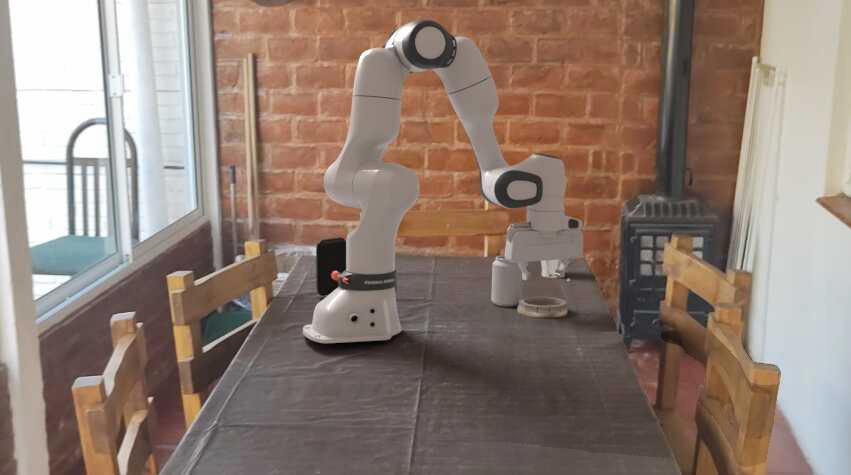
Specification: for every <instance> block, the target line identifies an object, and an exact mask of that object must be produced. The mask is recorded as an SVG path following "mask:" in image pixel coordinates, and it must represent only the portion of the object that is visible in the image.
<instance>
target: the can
mask: <svg viewBox="0 0 851 475" xmlns="http://www.w3.org/2000/svg"><path fill="white" fill-rule="evenodd" d="M491 266H492V268H491V269H492V272H491V295H490V297H491V298H490V299H491V301H492V303H493V304H494V305H496V306H498V307H504V308H506V307H507V308H508V307H509V308H510V307H512V308H513V307H518V305H519V299H522V293H523V292H522V290H523V279H522V271H521V270H520V268H519V266H518V263H513V262H509V261H507V259H506V258H505V255H497V256H496V257H495V260H494V261H493V262H492V265H491Z"/></svg>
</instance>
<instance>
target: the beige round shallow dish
mask: <svg viewBox="0 0 851 475" xmlns="http://www.w3.org/2000/svg"><path fill="white" fill-rule="evenodd" d="M517 312H518V314H520V315H523V316H526V317H533V318H542V319H543V318H544V319H546V318H547V319H549V318H550V319H551V318H559V317H565V316H567V315H568V302H567V301H566V300H564V299H561V298H559V297H552V296H542V295H541V296H527V297H526V296H525V297H521V299H519V304H518V305H517Z"/></svg>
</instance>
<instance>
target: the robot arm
mask: <svg viewBox="0 0 851 475" xmlns="http://www.w3.org/2000/svg"><path fill="white" fill-rule="evenodd" d="M357 62H358V63H357V65H356V66H357V67H356V69H355V75H354V82H353V86H352V98H351V110H350V118H349V119H350V120H349V126H348V127H349V128H348V129H349V130H348V133H347V137H346V140H345V143H344V146H343V148H342V150H341V152H340V153H339V155H338V157H337V158H336V160H334V162H333V163H331V165H329V167H328V168H327V170H326V172H325V173H324V176H323V188H324V191H325V193H326V196H327V197H328V198H329V199H330V200H332V201H333V202H335V203H337V204H339V205H342V206H345V207H348V208H353V209H361V211H360V212H361V213H360V218H359V221H358V224H357V226H356V227H355V228H353V229H352V230H350V232H348V234H347V235H346V236H347V237H346V239H345V241H346V270H345V271H344V272H342V273H340V272H338V271H333V273H332V275H331V276H333V277H332V279H334V280H336V281H338V286H339V287H338V288H336V289H335V290H334V291H333V292H332V293H330V294H329V295H327V296H325V297H324V298H323V299H322V300H321V301H319V302H317V304H316V305H315V308H314V310H313V314H312V315H313V316H312V323H311V324H305V325H304V326H303V327H302V334H303V336H305V337H306V338H307V339H309V340H311V341H313V342H315V343H320V344H336V343H339V344H340V343H355V342H356V343H357V342H373V341H376V342H377V341H387V340H390V339H391V338H392V337H393V336H396V335H398V334H400V333H401V332H402V330H403V329H402V326H401V323H400V318H399V313H398V307H397V299H396V298H397V296H396V293H397V286H398V275H397V273H398V272H397V269H396V267H395V266H396V265H395V263H396V240H397V234H398V229H399V227H400V224H401V222H402V220H403V217H404V216H405V214H407V212H408V211H409V210H410V209H411V208H413V206H414V205H416V202H417V201H418V199H419V196H420V190H421V189H420V188H421V187H420V181H419V180H420V179H419V177H418V175H417V174H416V172H415V171H414V170H413V169H411V168H410V167H406V166H404V165H401V164H399V163H396V162H389V161H382V158H383V156H384V153H385V151H386V149H387V148H388V146H389V145H390V144H391V143H392V142H394V141H396V139H398V137H399V135H400V129H401V116H402V103H403V102H402V101H403V86H404V83H405V80H406V77H407V76H408V75H409V74H412V73H422V72H426V71H429V70H432V71H433V72H435V74H436V75H437V76H438V77H439V79H440V80H441V81H442V83H443V87H444V89H445V91H446V94H447V97H448V99H449V102H450V104H451V106H452V108H453V110H454V112H455V113H456V115H457V117H458V119H459V121H460V123H461V124H462V127H463V128H464V130H465V132H466V134H467V137H468V140H469V143H470V146H471V149H472V151H473V154H474V157H475V159H476V162H477V165H478V173H479V174H478V175H479V178H478V187H479V191H480V194H481V196H482V198H483V199H484V200H485V201H486V202H488V203H489V204H491V205H495V206H500V207H503V208H505V209H508V210H509V209H510V210H514V209H520V208H524V207H526V222H520V223H518V222H515V223H512V224H511V225H510V226H508V228H507V229H506V243H505V248H504V249H505V251H504V256H505V258H506V259H507V261H509V262H513V263H518V266H519V268H520V270H521V271H522V281H531V280H532V272H529V271H528V269H527V267H528V266H529V263H530V262H541V261H545V260H558V259H560V262H561V264H560V266H559V269H556V274H555V275H556V277H557V278H564V277H565V274H566V273H565V271H566V269H567V267H568V266H569V264H570V260H571V259H580V258H581V256H582V255H583V253H584V235H583V232H582V230H581V228H582V226H583V221H582V220H581V219H578V218H576V217H573V216H570V215H567V214H565V205H564V196H565V192H566V173H565V172H566V170H565V163H564V162H563V160H562V158H560V157H558V156H556V155H552V154H547V153H540V152H535V153H532V154H531V155H530V156H528V157H527V158H525V159H524V160H522V161H520V162H519V163H516V164H513V165H509V164H508V162H507V161H506V160H505V158H504V156H503V153H502V151H501V150H502V149H501V148H500V145H499V142H498V138H497V136H496V134H495V130H494V118H495V115H496V113H497V111H498V109H499V104H500V99H499V95H498V90H497V87H496V83H495V81H494V78H493V75H492V73H491V71H490V68H489V66H488V63H487V61H486V60H485V58H484V56H483V54H482V53H481V51H480V49H479V47H478V46H477V44H476V43H475V42H474V40H472V38H469V37H467V36H455V37H454V35H452V34H451V33H450V32H448V31H447V29H446V28H445V27H444V26H443V25H441V24H440V23H438V22H437V21H434V20H432V19H419V20H416V21H410V22H407V23H405V24H403V25H402V26H400V27H398V28H396V29H395V30H394V31H393V32H391V34H390V35H389V37H388V38H387V40H386V41H385V43H384V44H383V46H382V47H372V48H369V49H366V50H365V51H364V52H363V53H362V54H361V55H360V56H359V59H358V61H357Z"/></svg>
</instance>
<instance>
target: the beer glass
mask: <svg viewBox="0 0 851 475" xmlns="http://www.w3.org/2000/svg"><path fill="white" fill-rule="evenodd" d="M540 264H541V277H544V278H547V279H557V278H558V277H556V275H555V274H556V269H559V266H560V264H561V262H560V259H558V260H545V261H540Z"/></svg>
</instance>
